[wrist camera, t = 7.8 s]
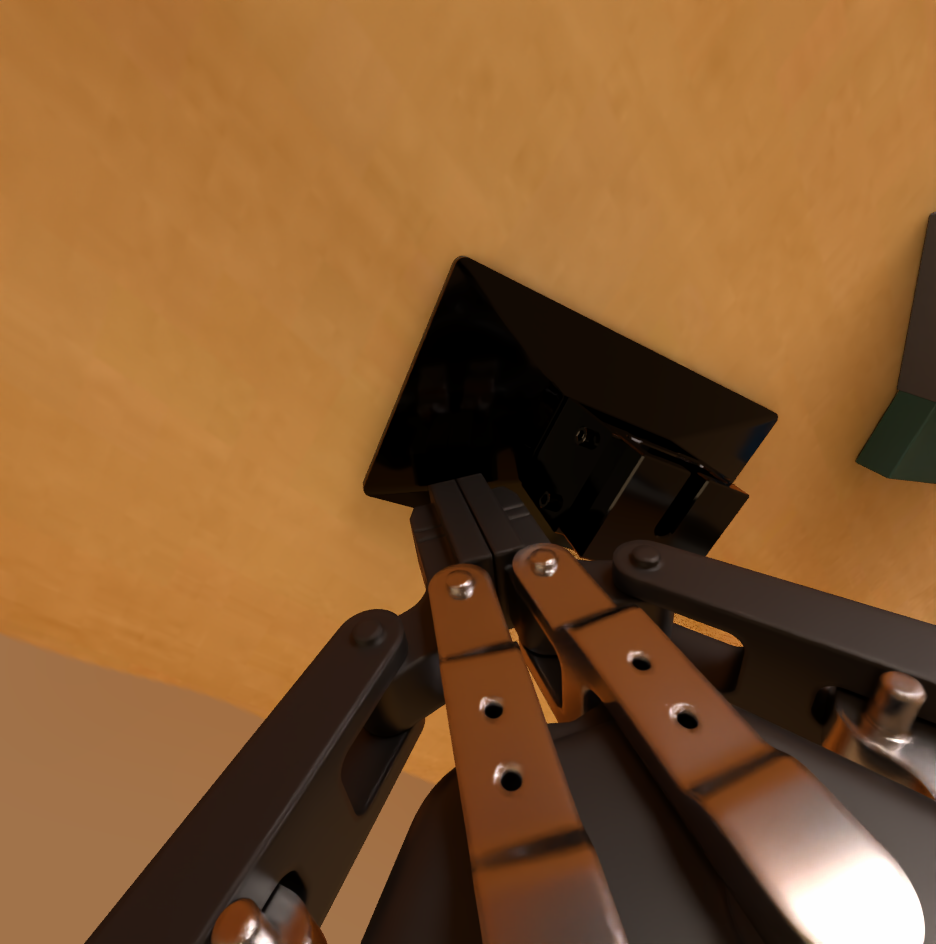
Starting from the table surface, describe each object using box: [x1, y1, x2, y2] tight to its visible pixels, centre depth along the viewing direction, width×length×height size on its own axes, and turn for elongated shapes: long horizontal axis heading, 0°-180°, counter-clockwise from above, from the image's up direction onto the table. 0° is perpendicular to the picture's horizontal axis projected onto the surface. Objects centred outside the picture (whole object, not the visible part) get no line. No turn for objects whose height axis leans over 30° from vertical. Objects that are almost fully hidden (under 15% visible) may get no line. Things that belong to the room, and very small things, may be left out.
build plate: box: [363, 256, 778, 561], centre depth 14 cm, size 12×7×5 cm, turn 66°
